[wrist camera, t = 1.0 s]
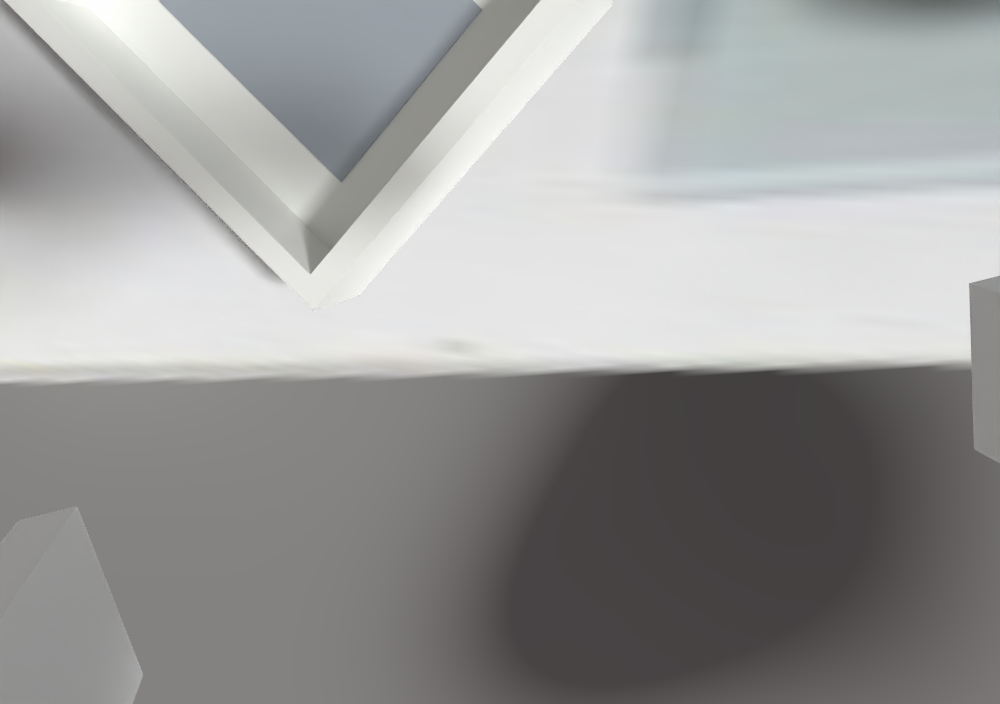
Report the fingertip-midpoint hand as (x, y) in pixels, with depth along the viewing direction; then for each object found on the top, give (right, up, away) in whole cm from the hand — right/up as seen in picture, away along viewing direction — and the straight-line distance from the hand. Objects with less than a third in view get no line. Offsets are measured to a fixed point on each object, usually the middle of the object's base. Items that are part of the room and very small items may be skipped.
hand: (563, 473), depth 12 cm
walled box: (-8, +16, +23) cm, 30 cm away
